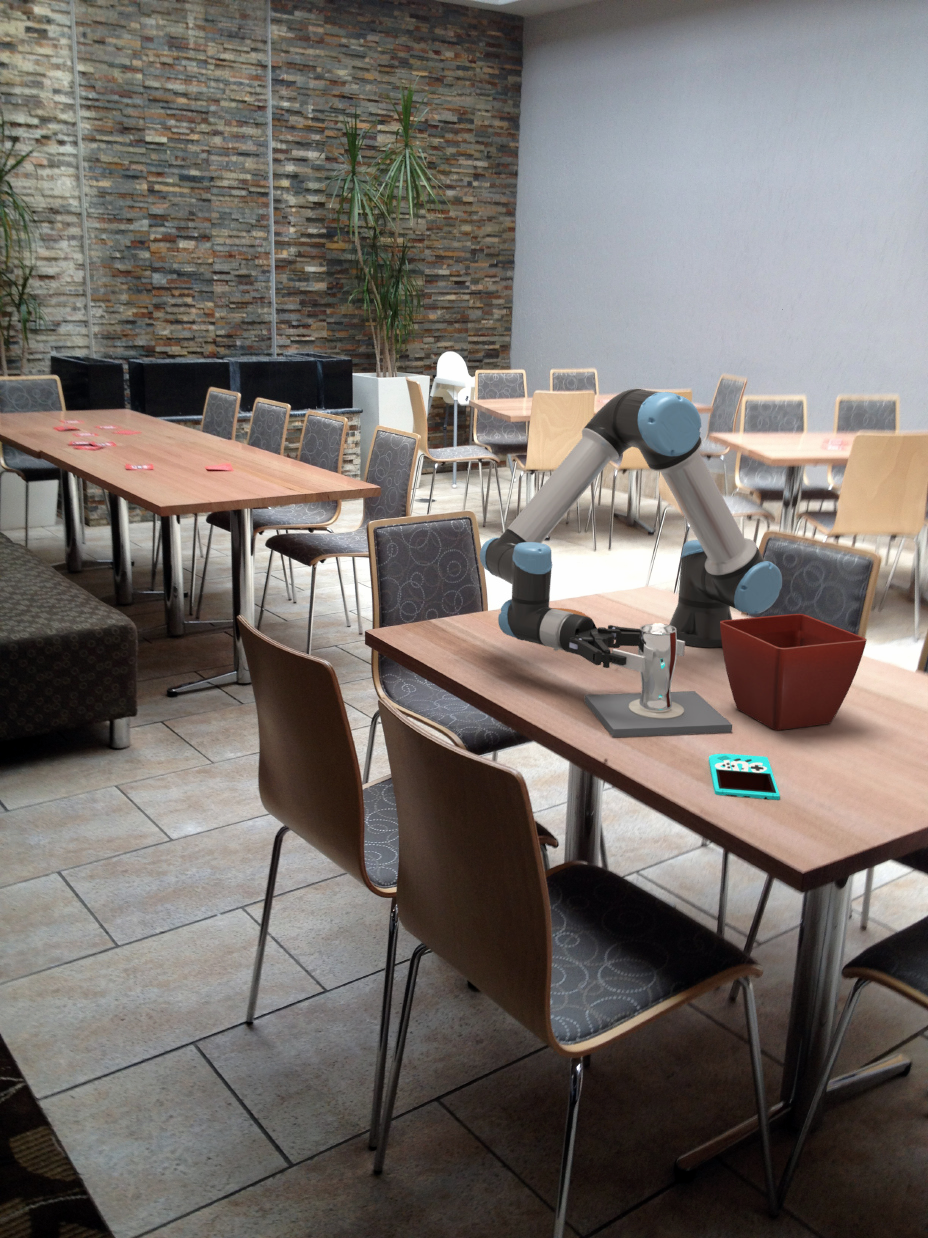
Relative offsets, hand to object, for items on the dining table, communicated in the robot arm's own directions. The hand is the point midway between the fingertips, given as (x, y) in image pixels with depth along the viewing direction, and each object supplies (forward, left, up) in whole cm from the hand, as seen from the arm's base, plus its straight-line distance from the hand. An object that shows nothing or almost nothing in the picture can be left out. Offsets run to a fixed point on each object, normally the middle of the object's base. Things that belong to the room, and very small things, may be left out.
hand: (664, 656), depth 198 cm
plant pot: (-24, +1, -12) cm, 26 cm away
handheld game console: (-4, +27, -13) cm, 30 cm away
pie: (+4, -56, -12) cm, 57 cm away
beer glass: (+1, -1, -10) cm, 10 cm away
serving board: (0, -1, -12) cm, 12 cm away
